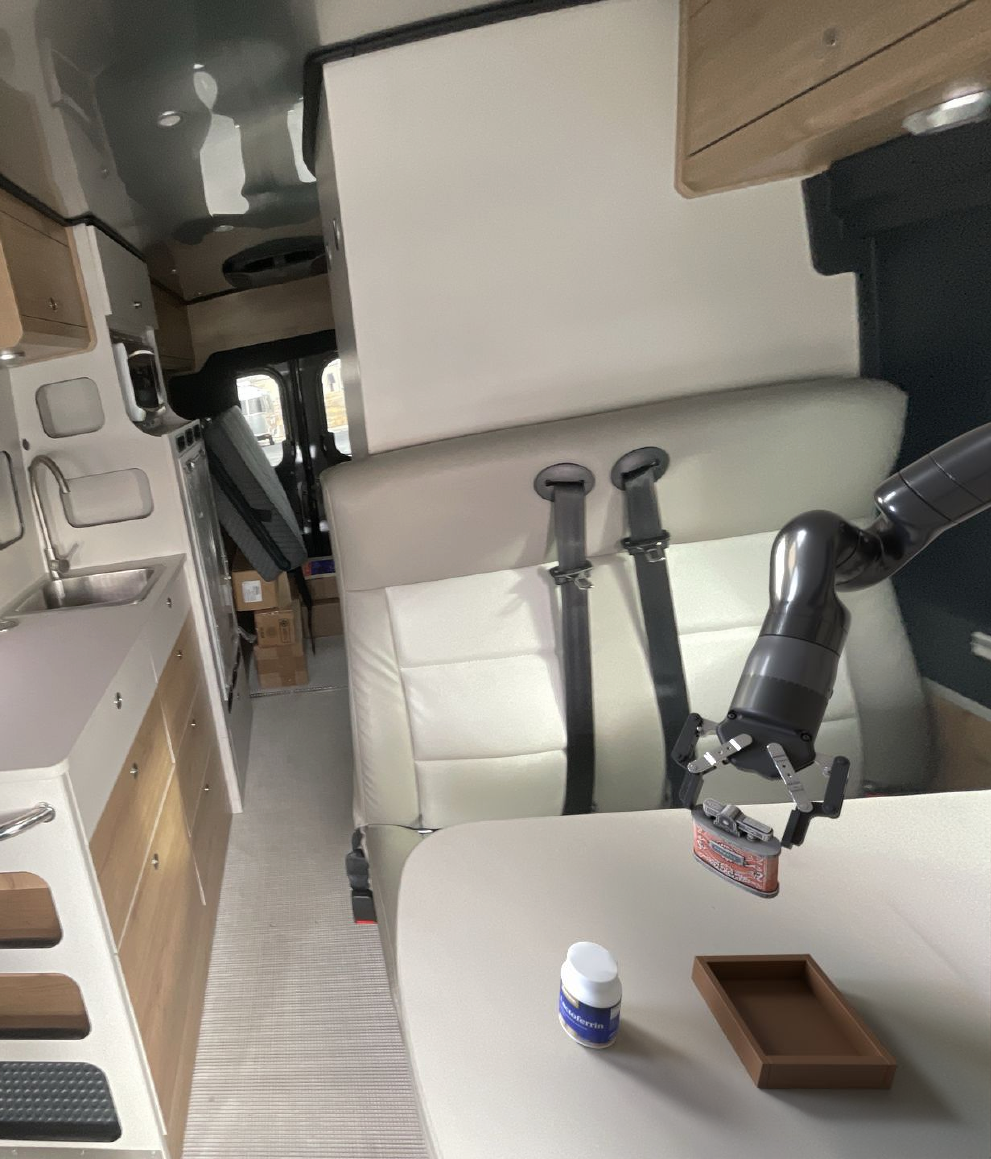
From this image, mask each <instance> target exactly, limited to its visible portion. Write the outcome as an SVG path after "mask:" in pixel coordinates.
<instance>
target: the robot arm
mask: <svg viewBox="0 0 991 1159" xmlns="http://www.w3.org/2000/svg"><path fill="white" fill-rule="evenodd" d="M872 500H873V503H874V504H875V506H876V507H877V509H878V510H879V512H880V514H879V515H878V516H877V517H876V518H875V520H873V521H872V523H870V524H868V526H866V527H864V528H862V527H860V526H859V525H857V524H856V523H854V522H852V521H851V520H849V519H847V518H846V517H844V516H842V515H841V514H839V513H837V512H834V511H832V510H827V509H811V510H806V511H803V512H801V513H799V514H797V515H795V516H793V517H792V518H790V520H788V521H787V522H786V523H785V524H784V525H783V526H782V527H781V528H780V530H779V531H778V532H777V534H776V536H775V538H774V540H773V542H772V545H771V550H770V555H769V571H768V572H769V574H768V575H769V576H768V596H769V597H768V598H769V602H768V609H767V611H766V614H765V616H764V619H763V622H762V625H761V628H760V630H759V633H758V635H757V638H756V641H755V643H754V645H753V646H752V648H751V650H750V651H749V653H748V655H747V658H746V660H745V663H744V666H743V668H742V672H741V674H740V677H739V680H738V683H737V686H736V688H735V691H734V694H733V696H732V699H731V702H730V705H729V707H728V711H727V713H726V715H725V717H724V718H723V719H722V720H721V721H720V722H716V721H713V720H711V719H708V718H705V717H702V715H701V714H700V713H698V712H691V713H689V715H688V716H687V718H686V721H685V723H684V725H683V728H682V729H681V732H680V734H679V736H678V738H677V740H676V742H675V745H674V747H673V749H672V751H671V754H670V756H671V758H672V759H673V761H674V762H676V764H677V765H678V766H679V767H682V768H683V769H684V770H685V776H684V778H683V780H682V781H683V782H682V784H681V787H680V789H679V792H678V799H679V800H680V801H681V802H682V807H683V808H684V809H686V810H688V811H691V810H692V809H693V807H694V806H695V805H697V802H698V800H699V796H700V794H701V791H702V788H703V786H704V783H705V780H704V779H703V777H705V776H707V775H709V774H711V773H713V772H715V771H718V770H722V769H724V768H726V767H728V766H730V765H731V766H733V767H734V768H735V769H736V770H738V771H741V772H743V773H749V774H756V775H758V776H759V777H761V778H762V779H765V780H767V781H771V782H774V781H781V780H783V782H784V784H785V786H786V788H787V790H788V792H789V793H790V795H791V798H792V799H793V802H794V803H795V809H791V811H790V814H789V817H788V819H787V823H786V826H785V828H784V831H783V835H782V837H781V840H780V842H781V846H782V848H785V849H787V850H792V849H793V847H794V846H796V847H798V848H799V847H801V846H802V845H803V844H804V842H805V839H806V836H807V833H808V830H809V827H810V824H811V821H812V820H813V819H814V818H828V819H831V820H836V819H838V818H840V816H841V813H842V809H843V805H844V801H845V796H846V792H847V789H848V784H849V779H850V775H851V773H852V765H851V762H850V759H849V758H848V757H846V756H843V755H837V756H832V755H829V754H825V753H821V752H817V751H816V750H815V743H816V740H817V738H818V734H819V732H820V728H821V725H822V723H823V720H824V716H825V714H826V711H827V707H828V705H829V703H830V702H829V701H830V700H831V698H832V697H833V695H834V688H835V684H836V681H837V676H838V668H839V662H840V658H841V657H842V653H843V650H844V647H845V644H846V642H847V639H848V636H849V633H850V629H851V625H852V621H853V620H852V619H853V617H852V613H851V611H850V610H849V608H848V607H847V605H846V604H845V603H844V602H843V600H842V599H841V598H840V597H839V595H838V593H840V594H841V593H842V594H843V593H853V592H854V593H855V592H860V591H864V590H867V589H870V588H873V587H876V586H878V585H879V584H881V583H883V582H884V581H886V580H887V579H889V578H890V577H892V576H893V575H894V574H895V573H897V572H898V571H899V570H900V569H901V568H902V567H904V566H906V564H907V563H909V561H911V560H912V559H914V557H915V556H916V555H918V554H919V553H921V551H923V550H924V549H925V548H926V547H927V546H928V545H929V544H931V542H933V541H934V540H935V539H936V538H937V537H938V536H940V535H941V534H942V533H943V532H945V531H947V530H949V529H950V528H952V527H954V526H956V525H958V524H959V523H962V522H964V521H966V520H968V519H970V518H972V517H973V516H975V515H977V514H979V513H981V512H983V511H985V510H986V509H987V510H988V508H990V507H991V421H989V422H987V423H985V424H982V425H980V426H978V427H976V428H973V429H971V430H970V431H967V432H965V433H963V434H961V435H959V436H956V437H955V438H953V439H951V440H949V441H947V442H946V443H944V444H942V445H940V446H938V447H937V448H935V449H934V450H932V451H930V452H929V453H927V454H925V455H923V456H922V457H921V458H918V459H917V460H916V461H914V462H912V463H910V464H908V465H907V466H905V467H904V468H902V469H901V470H899V471H897V472H896V473H894V474H892V475H890V476H889V477H888V478H886V479H885V480H883V481H882V482H880V483H879V484H878V485H877V486H876V487H875V488H874V489H873V492H872ZM711 733H715V734H716V736H717V738H718V740H719V743H720V745H719V746H717V747H715V748H712V749H711V750H709V751H707V752H706V753H705V754H703V755H702V756H700V757H698V758H697V759H692V755H693V753H694V751H695V750H696V749H695V748H696V746H697V744H698V742H699V739H700V738H701V739H704V738H707V737H709V735H710V734H711ZM814 764H816V765H818V766H820V771H821V774H822V776H824V777H825V778H828V781H827V785H826V788H825V793H824V797H823V801H813V800H811V799H810V798H809V795H808V794H807V792H806V790H805V789H804V787H803V784H802V782H801V780H800V779H799V776H798V775H797V773H799V772H801V771H802V770H805V769H807V768H808V767H810V766H811V767H812V766H813V765H814Z"/></svg>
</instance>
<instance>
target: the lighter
mask: <svg viewBox="0 0 991 1159" xmlns="http://www.w3.org/2000/svg"><path fill="white" fill-rule="evenodd" d="M690 819H691V821H692V822H693V823H692V824H693V843H694V845H693V846H692V857H693V860H695V862H696V863H698V864H699V865H700V866H701V867H703V868H705V869H706V871H709V872H710V873H711V874H713V875H714V876H716V877H718V878H720V879H721V880H722V881H724V882H726V883H727V884H730V885H732V886H734V887H736V888H737V889H740V890H742V891H744V892H746V893H750V895H751V894H752V895H753V896H756V897H758V898H761V899H765V900H771V899H775V898H776V897H778V896H779V894H780V882H779V880H778V879H779V861H780V858H779V857H780V856H781V854H782V850H783V849H782V848H783V847H782V846H781V840H780V839H778V838H777V837H776V836H775V835H774V834H775V833H774V831H775V830H774V828H773V827H771V826H770V825H767V824H766V823H763V822H761V821H759V820H757V819H755V818H752V817H751V816H748V815H746V814H745V813H744V812H743V811H742V810H741V809H740V808H739V807H738V806H736V805H734V804H731V803H727V804H723V803H722V802H719V801H717V800H716V799H713V798H706V799H704V800H703V801H702V803H698V804H696V805H695V806H694V807H693V809H692V810H690Z"/></svg>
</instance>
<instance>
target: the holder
mask: <svg viewBox="0 0 991 1159" xmlns="http://www.w3.org/2000/svg"><path fill="white" fill-rule="evenodd" d="M690 977H691V978H690V979H691V980H692V982H693V983H694V985H695V987H696V988H697V990H698V992H699V994H700V995H701V997H702V998H703V1000H704V1002H705V1004H706V1005H707V1007H708V1008H709V1010H710V1012H711V1013H712V1015H713V1017H714V1019H715V1020H716V1022H717V1023H718V1025H719V1027H720V1029H721V1030H722V1032H723V1034H724V1035H725V1037H726V1038H727V1040H728V1042H729V1043H730V1045H731V1047H732V1048H733V1050H734V1052H735V1053H736V1055H737V1057H738V1059H739V1060H740V1062H741V1063H742V1065H743V1067H744V1068H745V1070H746V1072H747V1073H748V1075H749V1077H750V1078H751V1080H752V1082H753V1083H754V1085H755V1087H756V1089H757V1088H758V1089H841V1090H842V1089H843V1090H844V1089H845V1090H846V1089H849V1090H850V1089H852V1090H853V1089H854V1090H855V1089H857V1090H858V1089H859V1090H863V1089H864V1090H891V1087H892V1085H893V1082H894V1079H895V1076H896V1073H897V1070H898V1068H899V1063H898V1062H897V1061H896V1059H895V1058H894V1057H893V1056H892V1055H891V1053H890V1052H889V1050H887V1049H886V1047H885V1046H884V1045H883V1044H882V1042H881V1041H880V1040H879V1039H878V1037H877V1036H876V1035H875V1033H874V1032H873V1031H872V1030H871V1028H870V1027H869V1025H867V1024H866V1023H865V1021H864V1020H863V1018H862V1017H861V1016H860V1014H858V1012H857V1011H856V1010H855V1009H854V1008H853V1006H852V1005H851V1004H850V1003H849V1001H848V1000H847V998H845V996H844V995H843V994H842V992H841V991H840V990H839V989H838V988H837V986H836V985H835V984H834V983H833V982H832V979H831V978H829V976H828V975H827V974H826V973H825V971H824V970H823V969H822V968H821V966H820V965H819V964H818V962H816V960H815V959H814V958H813V957H812V955H811V954H810V953H786V954H785V953H783V954H779V953H777V954H730V955H729V954H728V955H726V954H724V955H723V954H721V955H694V959H693V965H692V972H691V976H690Z"/></svg>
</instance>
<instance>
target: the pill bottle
mask: <svg viewBox="0 0 991 1159" xmlns="http://www.w3.org/2000/svg"><path fill="white" fill-rule="evenodd" d="M620 979H621V978H620V977H619V965H618V962H617V960H616V958H615V957H614V955H613V954H612V953H611V952H610V951H609V950H608V949H606V948H605V947H604V946H601V945H600V944H597V943H594V942H591V941H579V942H575V943H574V944H572V945H571V946H570V947H569V948H568V952H567V955H566V961H565V962H564V963H563V964H562V966H561V970H560V982H559V983H560V984H559V996H558V997H559V999H558V1002H559V1003H558V1018H559V1023H560V1024H561V1026H562V1028H563V1030H564V1031H565V1033H566V1034H567V1035H568V1036H569V1037H570V1038H571V1039H572V1040H573V1041H575V1042H576V1043H578V1044H580V1045H582V1046H585V1047H587V1048H589V1049H595V1050H597V1049H604V1048H608V1047H610V1046H611V1045H613V1044H614V1042H615V1041H616V1039H617V1037H618V1033H619V1024H620V1017H621V1007H622V998H623V986H622V982H621V980H620Z"/></svg>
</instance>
